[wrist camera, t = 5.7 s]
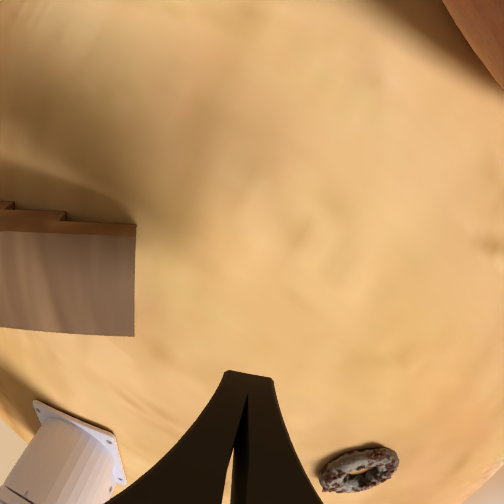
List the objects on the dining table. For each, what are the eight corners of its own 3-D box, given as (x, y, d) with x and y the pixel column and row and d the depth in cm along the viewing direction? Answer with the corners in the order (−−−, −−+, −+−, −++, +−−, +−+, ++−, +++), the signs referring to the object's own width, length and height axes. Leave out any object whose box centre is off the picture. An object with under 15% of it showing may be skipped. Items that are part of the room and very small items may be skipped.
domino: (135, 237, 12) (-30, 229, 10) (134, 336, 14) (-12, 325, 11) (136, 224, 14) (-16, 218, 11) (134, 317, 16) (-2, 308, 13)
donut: (419, 455, 19) (424, 474, 17) (341, 490, 22) (343, 509, 20) (374, 418, 18) (380, 442, 16) (283, 462, 20) (282, 484, 18)
